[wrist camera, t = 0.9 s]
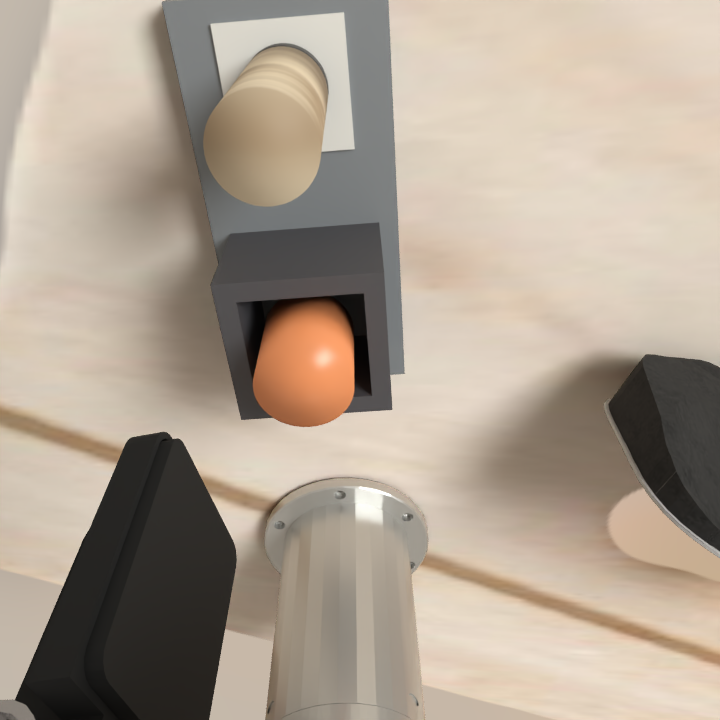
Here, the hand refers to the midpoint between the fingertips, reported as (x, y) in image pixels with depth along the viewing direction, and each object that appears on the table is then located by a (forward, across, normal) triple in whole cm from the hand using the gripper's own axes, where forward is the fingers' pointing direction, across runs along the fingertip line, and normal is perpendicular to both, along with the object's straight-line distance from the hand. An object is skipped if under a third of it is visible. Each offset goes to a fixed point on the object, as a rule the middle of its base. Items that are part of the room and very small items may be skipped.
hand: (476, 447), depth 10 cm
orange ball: (+20, +6, +10) cm, 24 cm away
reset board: (+26, +6, +5) cm, 27 cm away
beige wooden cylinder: (+24, +5, -1) cm, 25 cm away
